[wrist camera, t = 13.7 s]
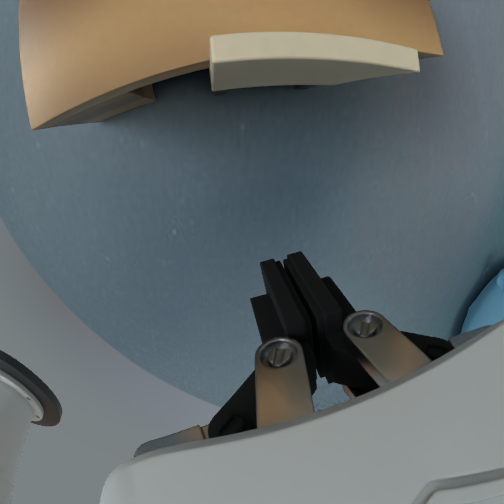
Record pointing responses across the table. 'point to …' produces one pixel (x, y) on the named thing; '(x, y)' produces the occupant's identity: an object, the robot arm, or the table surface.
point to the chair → (302, 60)
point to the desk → (174, 44)
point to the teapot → (487, 305)
